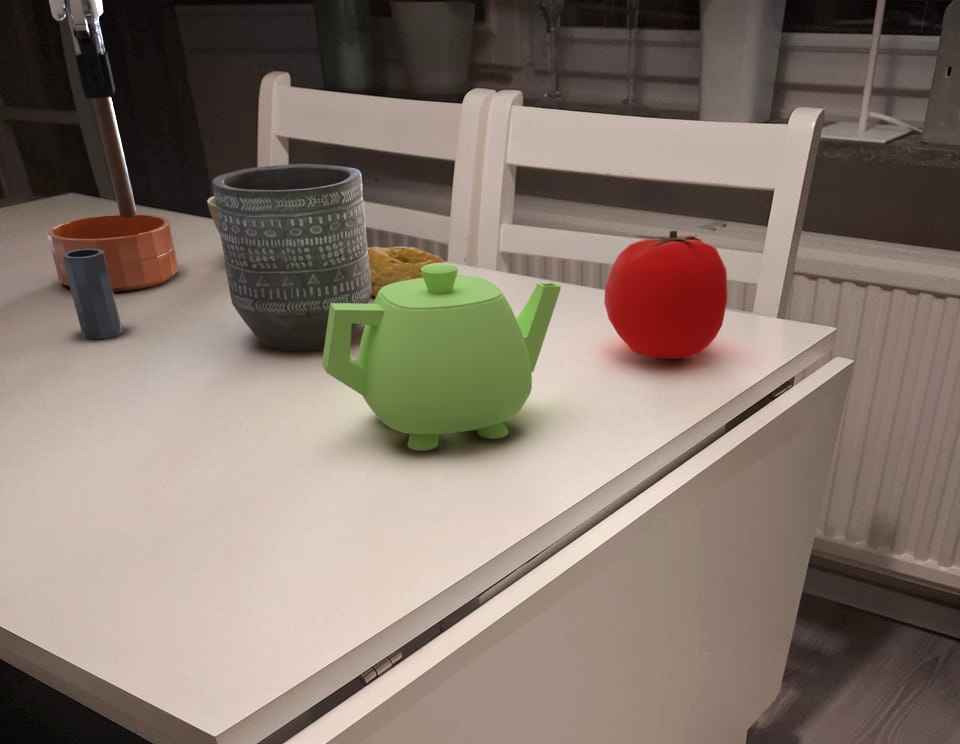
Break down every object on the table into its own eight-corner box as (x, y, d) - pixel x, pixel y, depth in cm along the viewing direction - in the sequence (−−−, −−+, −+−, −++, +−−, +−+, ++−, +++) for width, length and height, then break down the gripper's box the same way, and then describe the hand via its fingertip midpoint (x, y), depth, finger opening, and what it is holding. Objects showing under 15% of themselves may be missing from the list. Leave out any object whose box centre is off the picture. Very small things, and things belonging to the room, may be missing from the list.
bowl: (56, 299, 118) (41, 244, 115) (66, 269, 129) (53, 218, 126) (179, 288, 121) (168, 234, 117) (178, 260, 132) (169, 210, 128)
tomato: (703, 380, 92) (718, 249, 85) (585, 365, 96) (590, 238, 89) (734, 341, 100) (750, 219, 94) (624, 329, 104) (632, 211, 97)
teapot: (526, 383, 92) (527, 234, 85) (589, 434, 82) (597, 271, 75) (314, 415, 87) (294, 260, 79) (353, 475, 77) (335, 303, 69)
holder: (82, 341, 105) (60, 259, 100) (84, 329, 109) (64, 250, 104) (121, 337, 106) (102, 256, 101) (123, 326, 109) (104, 247, 104)
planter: (211, 339, 105) (181, 178, 96) (319, 309, 113) (301, 158, 103) (293, 369, 97) (269, 197, 88) (403, 334, 105) (392, 173, 95)
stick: (120, 218, 120) (77, 37, 109) (120, 215, 122) (78, 36, 111) (137, 217, 121) (96, 36, 110) (137, 213, 122) (97, 35, 111)
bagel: (414, 308, 112) (411, 263, 109) (342, 294, 117) (337, 250, 114) (468, 288, 118) (467, 244, 115) (397, 275, 123) (394, 232, 121)
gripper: (23, -112, 108) (71, 90, 119) (4, -119, 96) (60, 106, 107) (95, -114, 109) (136, 86, 120) (86, -121, 97) (132, 102, 108)
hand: (100, 94), depth 114 cm, fingers closed on stick, 2 cm apart
